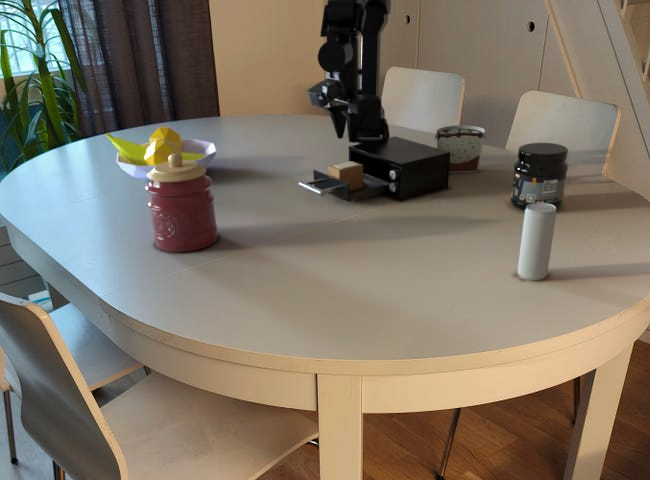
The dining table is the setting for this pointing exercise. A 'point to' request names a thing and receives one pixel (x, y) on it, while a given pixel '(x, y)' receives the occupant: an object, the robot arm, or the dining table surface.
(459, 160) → the food container
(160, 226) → the kitchen canister
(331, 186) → the tray
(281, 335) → the dining table surface
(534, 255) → the beverage can
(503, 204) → the dining table surface
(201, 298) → the dining table surface
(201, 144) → the fruit bowl
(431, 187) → the toaster oven
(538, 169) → the supplement container
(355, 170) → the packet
